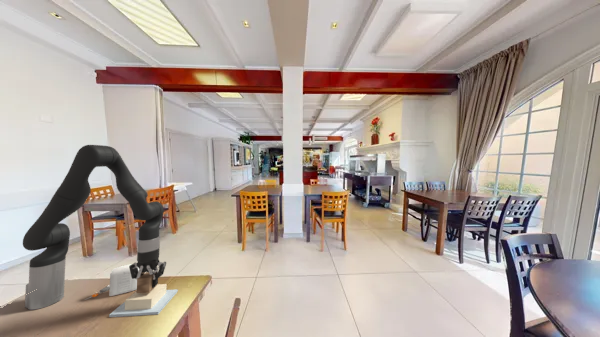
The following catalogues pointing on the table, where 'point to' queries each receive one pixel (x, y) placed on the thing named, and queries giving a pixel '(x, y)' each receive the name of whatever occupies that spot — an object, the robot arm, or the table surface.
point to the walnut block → (144, 283)
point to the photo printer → (121, 281)
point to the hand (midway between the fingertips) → (147, 286)
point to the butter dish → (145, 302)
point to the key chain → (100, 291)
